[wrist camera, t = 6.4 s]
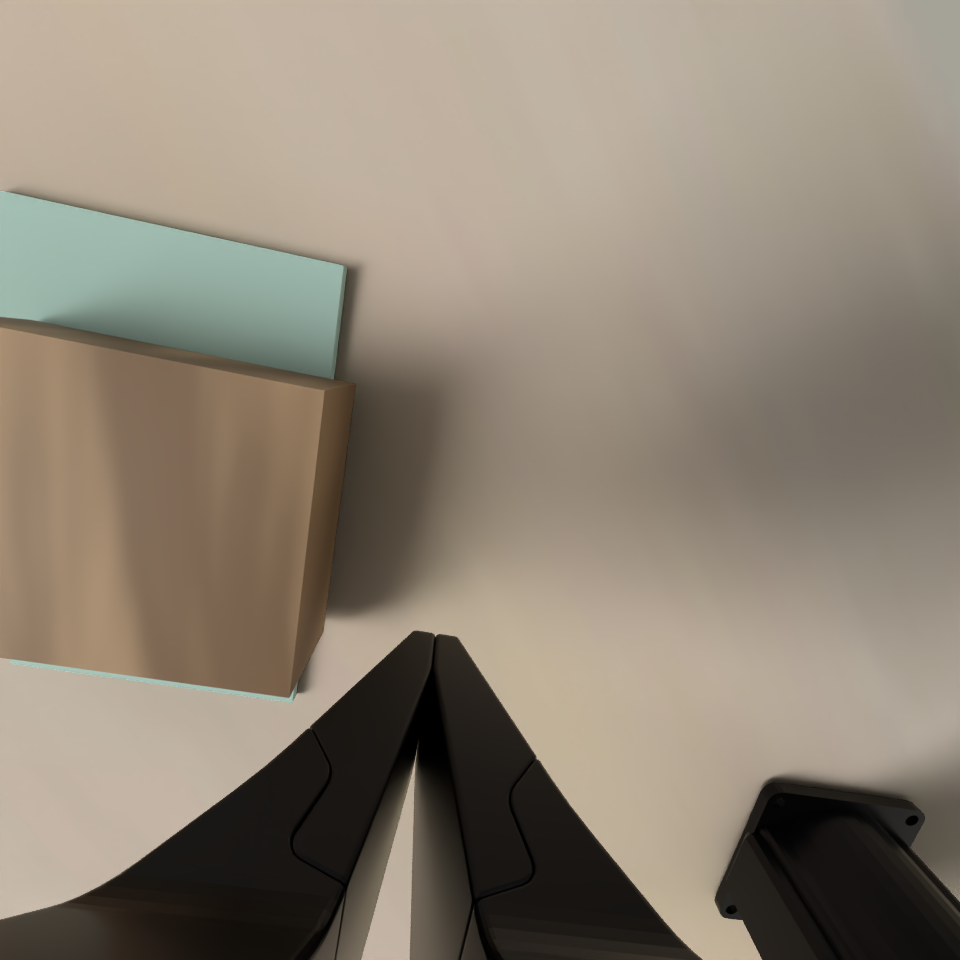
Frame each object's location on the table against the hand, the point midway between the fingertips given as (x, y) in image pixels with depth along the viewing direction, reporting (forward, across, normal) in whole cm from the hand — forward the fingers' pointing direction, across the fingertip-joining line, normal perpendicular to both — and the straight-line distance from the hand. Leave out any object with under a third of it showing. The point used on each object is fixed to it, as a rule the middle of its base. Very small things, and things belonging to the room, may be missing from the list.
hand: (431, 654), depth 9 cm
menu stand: (+4, +3, 0) cm, 5 cm away
